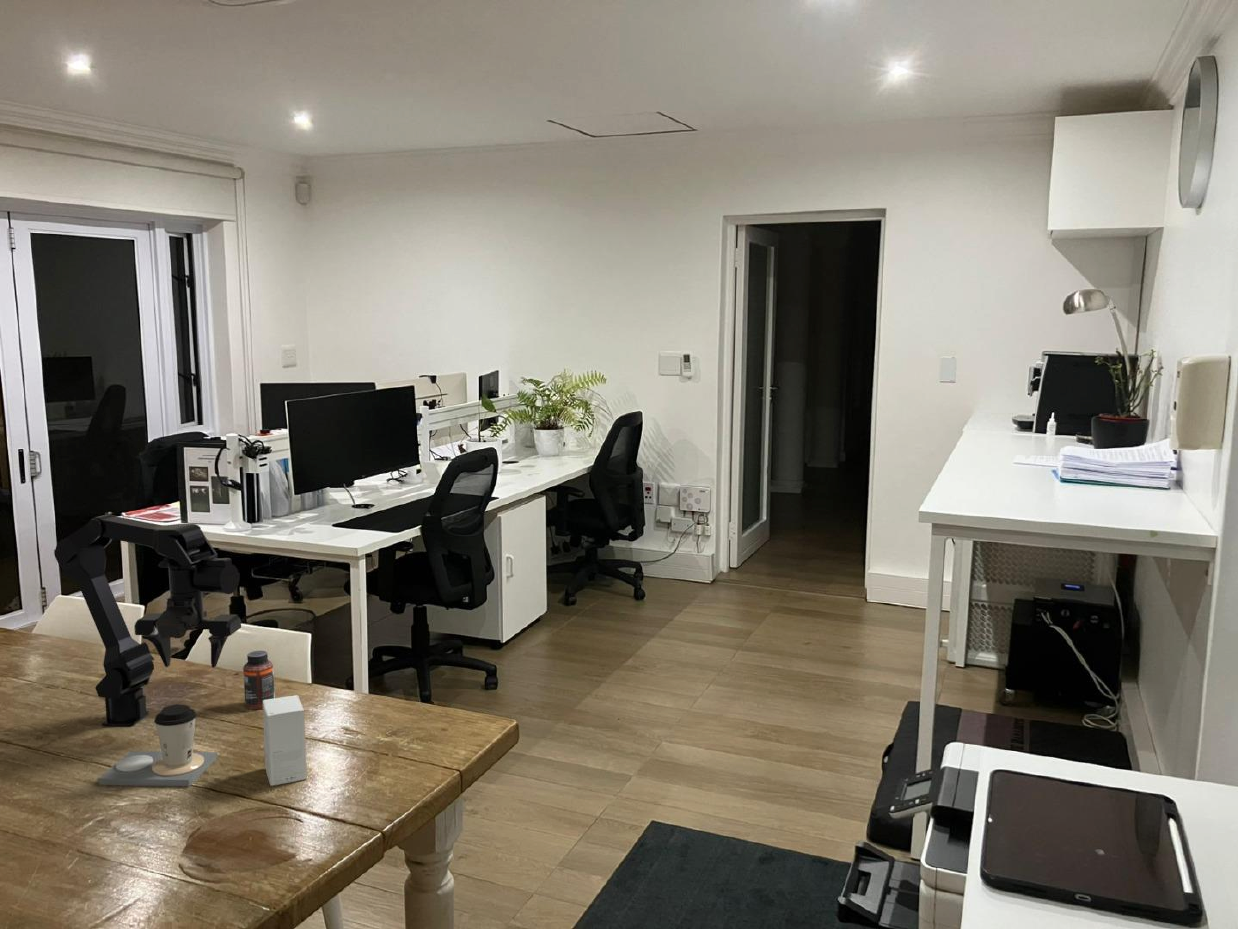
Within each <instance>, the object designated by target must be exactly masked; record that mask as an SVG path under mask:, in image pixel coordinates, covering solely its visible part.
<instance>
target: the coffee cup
mask: <svg viewBox="0 0 1238 929" xmlns="http://www.w3.org/2000/svg"><path fill="white" fill-rule="evenodd" d="M197 716H198V715H197V712H196V711H195V710H194V709H193V708H191V707H190V706H189V705H188V704H187V705H185V704H179V703H178V704H177V703H176V704H171V705H167V706H165V707H163V708H162V709H161V711H160V712H158V714H156V715H155V718H154V721H153V722H154V724H155V726H156V731H157V736H158V737H157V738H158V740H159V746H160V751H161V752H162V757H163V762H164V766H165V767H167V768H181V767H184V766H187V765H189V764H190V763H191V762H192V755H193V752H194V739H195V728H196V718H197Z"/></svg>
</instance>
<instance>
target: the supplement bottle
mask: <svg viewBox="0 0 1238 929" xmlns="http://www.w3.org/2000/svg"><path fill="white" fill-rule="evenodd" d="M246 657H247V659H246V660H247V662H246V663H245V664H244V665H243V668H242V669H243V671H242V672H243V675H242V676H243V688H244V704H245V706H246V708H248V709H252V710H259V709H263V700H267V699H274V698H275V697H276V695H275V678H274V676H275V675H274V666H273V665H274V664H273V662H272V661H270V660H269V659H268V658H269V657H268V652H267V651H266V650H253V651H251V652H249V653H247V655H246Z"/></svg>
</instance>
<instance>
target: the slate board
mask: <svg viewBox="0 0 1238 929" xmlns="http://www.w3.org/2000/svg"><path fill="white" fill-rule="evenodd" d="M217 759H218V754H217V752H216V751H214V752H213V751H193V755H192V762H191V763H190V764H189V765H187V766H184V767H181V768H167V767H165V766H164V762H163V757H162V752H161V750H158V751H157V750H130V751H129V752H128V753H126V755H124V756H123V757H122V758H121V759H119V761H117V762H116V763H115V764H114V765H112V767H110V768H109V769H108V770H106V771H105V772H104V773H103V774H102V775H100V776H99V777H98V785H100V786H132V787H133V786H141V787H142V786H144V787H185V786H188V788H189V787H191V786H192V785H193V783H195V782H196V780H197V779H198V778H199V777H201V775H202V774H203V773H204V772H206V770H208V769H209V767H210V766H211V765H212V764H213V763H214V762H215V761H216V760H217Z"/></svg>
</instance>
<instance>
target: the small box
mask: <svg viewBox="0 0 1238 929" xmlns="http://www.w3.org/2000/svg"><path fill="white" fill-rule="evenodd" d="M262 720H263V723H262V724H263V739H264V740H263V742H264V768H265V772H266V775H267V776H266V777H267V779H268V783H269V785H270V786H271V787H274V786H278V785H284V784H289V783H294V782H295V783H296V782H298V781H303V780H307V779H308V770H307V769H308V768H307V748H306V743H307V742H306V722H305V708H304V706H303V703H302V701H301V699H300V697H299V695H296V694H295V695H289V696H283V697H282V696H281V697H276V698H274V699H267V700H263V708H262Z"/></svg>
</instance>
